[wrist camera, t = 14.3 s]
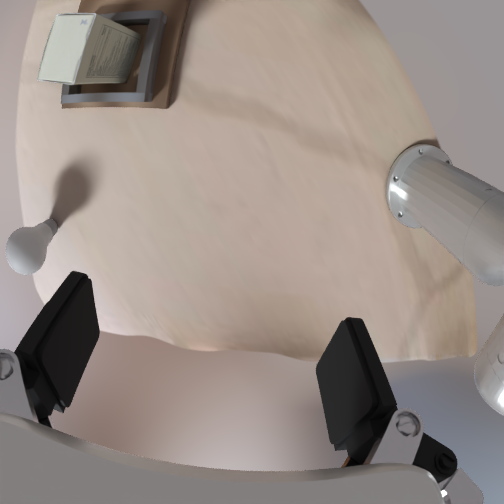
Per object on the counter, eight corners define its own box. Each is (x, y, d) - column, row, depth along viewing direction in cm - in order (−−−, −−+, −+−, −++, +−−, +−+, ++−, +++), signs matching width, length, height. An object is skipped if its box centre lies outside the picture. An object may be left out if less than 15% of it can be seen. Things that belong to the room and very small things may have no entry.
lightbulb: (47, 197, 33) (2, 231, 24) (75, 222, 36) (36, 262, 26) (34, 226, 35) (-6, 263, 26) (61, 249, 37) (25, 292, 28)
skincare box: (111, 31, 22) (56, 10, 12) (144, 35, 23) (98, 9, 13) (94, 81, 25) (33, 81, 15) (126, 86, 26) (72, 85, 16)
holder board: (196, -25, 21) (192, -39, 17) (168, 108, 29) (158, 109, 26) (92, -16, 19) (76, -26, 15) (67, 107, 28) (48, 110, 24)
